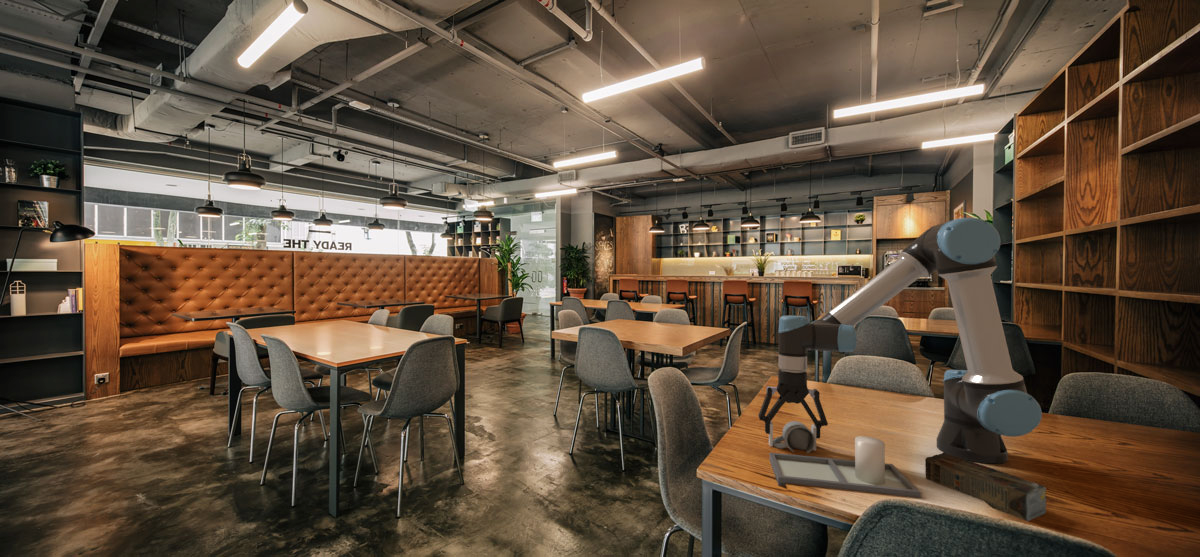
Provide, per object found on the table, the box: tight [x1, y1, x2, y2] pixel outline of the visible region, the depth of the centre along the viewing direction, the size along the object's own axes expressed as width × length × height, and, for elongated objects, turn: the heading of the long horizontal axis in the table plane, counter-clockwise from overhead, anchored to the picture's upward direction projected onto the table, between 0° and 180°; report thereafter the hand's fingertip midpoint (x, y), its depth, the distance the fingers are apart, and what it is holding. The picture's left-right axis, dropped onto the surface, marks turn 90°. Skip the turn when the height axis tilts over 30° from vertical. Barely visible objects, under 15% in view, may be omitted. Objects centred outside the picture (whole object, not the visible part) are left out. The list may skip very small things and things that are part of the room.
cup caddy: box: [769, 452, 922, 499], centre depth 104 cm, size 29×15×2 cm, turn 76°
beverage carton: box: [924, 452, 1047, 522], centre depth 96 cm, size 8×19×7 cm, turn 23°
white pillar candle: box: [854, 435, 886, 484], centre depth 103 cm, size 6×6×9 cm
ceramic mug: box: [773, 420, 815, 454], centre depth 123 cm, size 11×8×8 cm
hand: (791, 447), depth 123 cm, fingers closed on ceramic mug, 11 cm apart
